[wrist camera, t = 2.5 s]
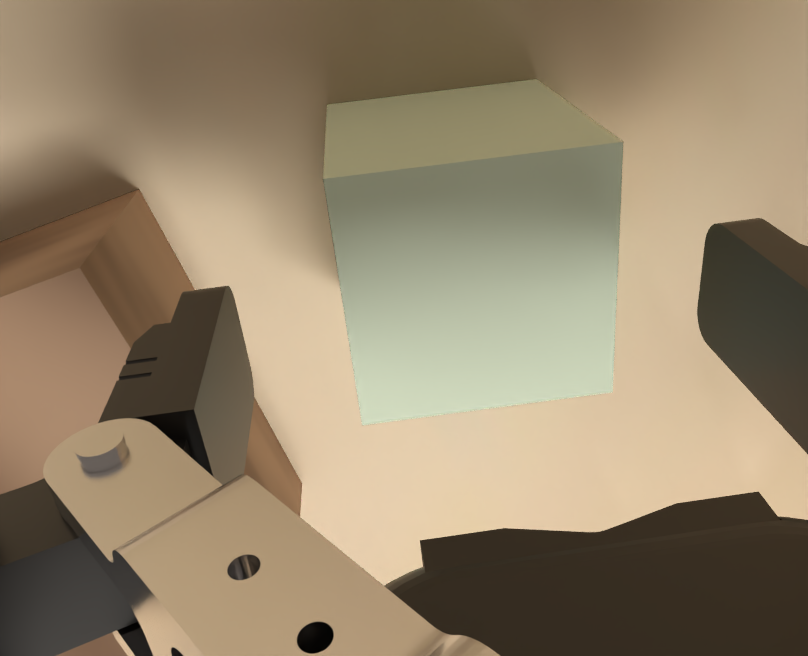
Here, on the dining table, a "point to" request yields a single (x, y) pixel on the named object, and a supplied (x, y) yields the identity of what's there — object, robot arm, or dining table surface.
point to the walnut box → (92, 341)
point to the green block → (474, 248)
